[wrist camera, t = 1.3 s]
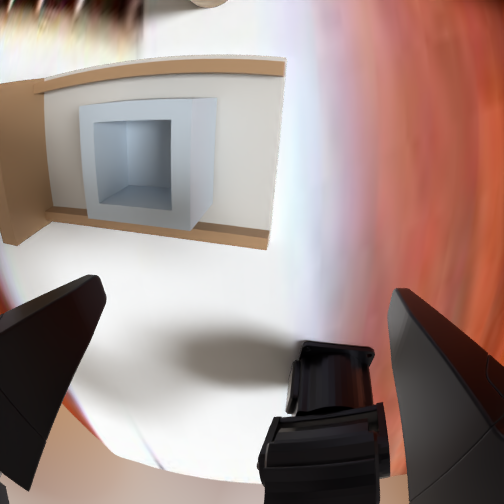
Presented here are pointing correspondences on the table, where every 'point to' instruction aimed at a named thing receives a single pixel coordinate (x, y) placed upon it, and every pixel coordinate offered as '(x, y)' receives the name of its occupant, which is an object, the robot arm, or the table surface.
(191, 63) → the tan wooden u-shaped frame
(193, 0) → the dowel
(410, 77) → the table surface
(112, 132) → the block
